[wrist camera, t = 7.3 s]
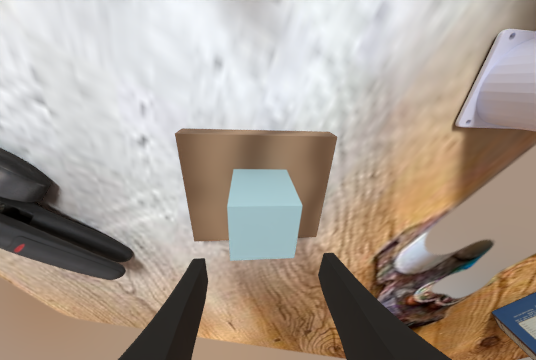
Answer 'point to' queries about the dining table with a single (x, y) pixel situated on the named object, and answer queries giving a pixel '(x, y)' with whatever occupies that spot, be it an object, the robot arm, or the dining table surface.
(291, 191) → the blue block
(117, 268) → the can opener
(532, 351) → the protein box
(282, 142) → the walnut block
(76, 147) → the dining table surface
